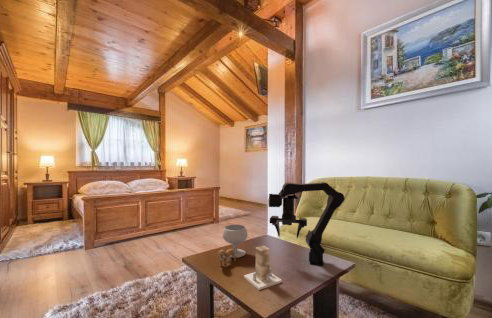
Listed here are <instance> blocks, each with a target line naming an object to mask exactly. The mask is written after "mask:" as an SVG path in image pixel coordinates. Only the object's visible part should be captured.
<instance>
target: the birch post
mask: <svg viewBox="0 0 492 318" xmlns="http://www.w3.org/2000/svg"><path fill="white" fill-rule="evenodd" d="M270 252H271V249H270V248H269V247H267V246H265V245H261V246H257V247H255V272H256V278H258V279H259V280H260V281H264V280H266V275H267V274H270V268H271V266H270V265H271V263H270V262H271V259H270V258H271V257H270V256H271V255H270V254H271V253H270Z"/></svg>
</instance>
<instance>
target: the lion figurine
mask: <svg viewBox="0 0 492 318" xmlns="http://www.w3.org/2000/svg"><path fill="white" fill-rule="evenodd" d="M230 255H231V256H232V257H233V261H234V262H236V261H237V258H236V256H235V254H234V250H233V248H228V249H227V250H224V249H220V250H218V252H217V259H218V261H219V264H218V265H219V267H222V265H223V262H224V265H223V267H224V268H227V262H230V259H231V258H232V257H230Z"/></svg>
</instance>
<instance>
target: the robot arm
mask: <svg viewBox="0 0 492 318" xmlns="http://www.w3.org/2000/svg"><path fill="white" fill-rule="evenodd" d="M281 187H282V189H281V190H280V191H279V193H269V194H268V200H267V201H268V208H281V206H282V215H281V217H279V215H271V216H270V218H269V224H271V226H274V227H275V230H276V232H277V236H278V237H280V236H281V230H280V222H281V225H283V226H292V225H293V224H297V231H296V239H298V238H299V235H300V233H301V231H302V228H305V227H307V226H308V218H306V217H299V218H298V219H297V215H295V200H299V197H298V196H297V194H298V193H303V192H313V191H314V192H316V191H323V192H324V193H325V195H327V200H326V206H325V208H324V210H323V211H322V214H321V215H320V217H319V220H318V221H317V224H316V225H315V226H314V228H313V230H310V229H309V230H308V231H307V233H306V235H305V242H306V244H307V246H308V247H309V250H310V251H309V252H308V262H309V264H310V265H316V266H322V267H323V266H324V254H325V250H326V249H325V248H324V247H323V246H322V245H321V244H322V238H323V234H324V232H325V230H326V229H327V226H328V224H329V223H330V220H331V219H332V217H333V214H334V213H335V211H336V210H337V209H338V208H340V207H341V206H342V205H343V203H344V201H345V199H346V197H345V195H344V194H343V193H342V192H339V191H337V190H336V189H335V188H333V187H332V186H331V185H330V184H329V183H328V182H324V181H322V182H311V183H295V182H294V183H293V182H285V183H284V184H283V185H282V186H281Z"/></svg>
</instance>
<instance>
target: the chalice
mask: <svg viewBox="0 0 492 318" xmlns="http://www.w3.org/2000/svg"><path fill="white" fill-rule="evenodd" d="M247 238H248V230H247V227H246V226H245V225H242V224H229V225H226V226H224V228H223V231H222V239H223V240H224V241H225V242H226V243H228V244H230V245H232V249H233V250H234V254H235V256H236V259H237V258H243V257H244V256H246V254H247V252H246V251H245V250H243V249H240V248H238V246H239V245H240V244H242V243H244V242H245V241H246V240H247ZM230 258H233V257H232V256H231V255H230ZM233 259H234V258H233Z"/></svg>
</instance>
